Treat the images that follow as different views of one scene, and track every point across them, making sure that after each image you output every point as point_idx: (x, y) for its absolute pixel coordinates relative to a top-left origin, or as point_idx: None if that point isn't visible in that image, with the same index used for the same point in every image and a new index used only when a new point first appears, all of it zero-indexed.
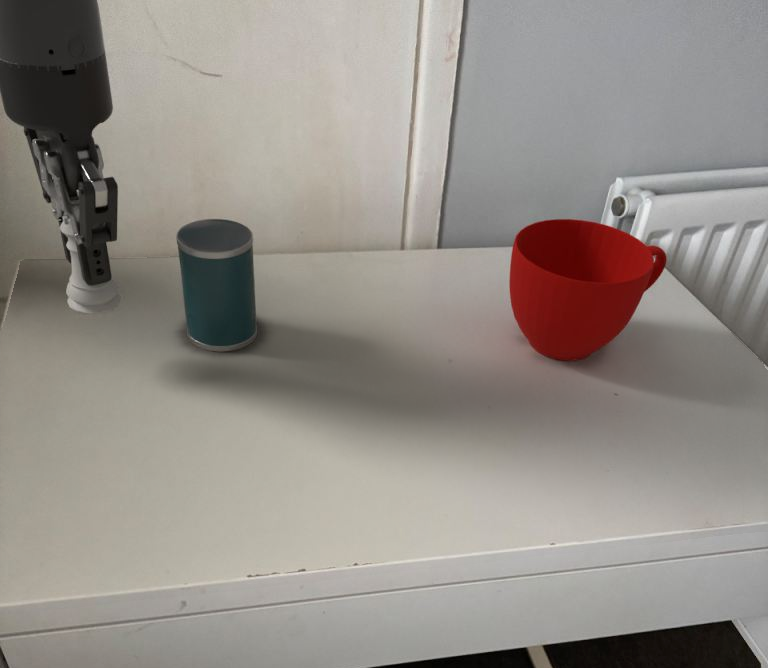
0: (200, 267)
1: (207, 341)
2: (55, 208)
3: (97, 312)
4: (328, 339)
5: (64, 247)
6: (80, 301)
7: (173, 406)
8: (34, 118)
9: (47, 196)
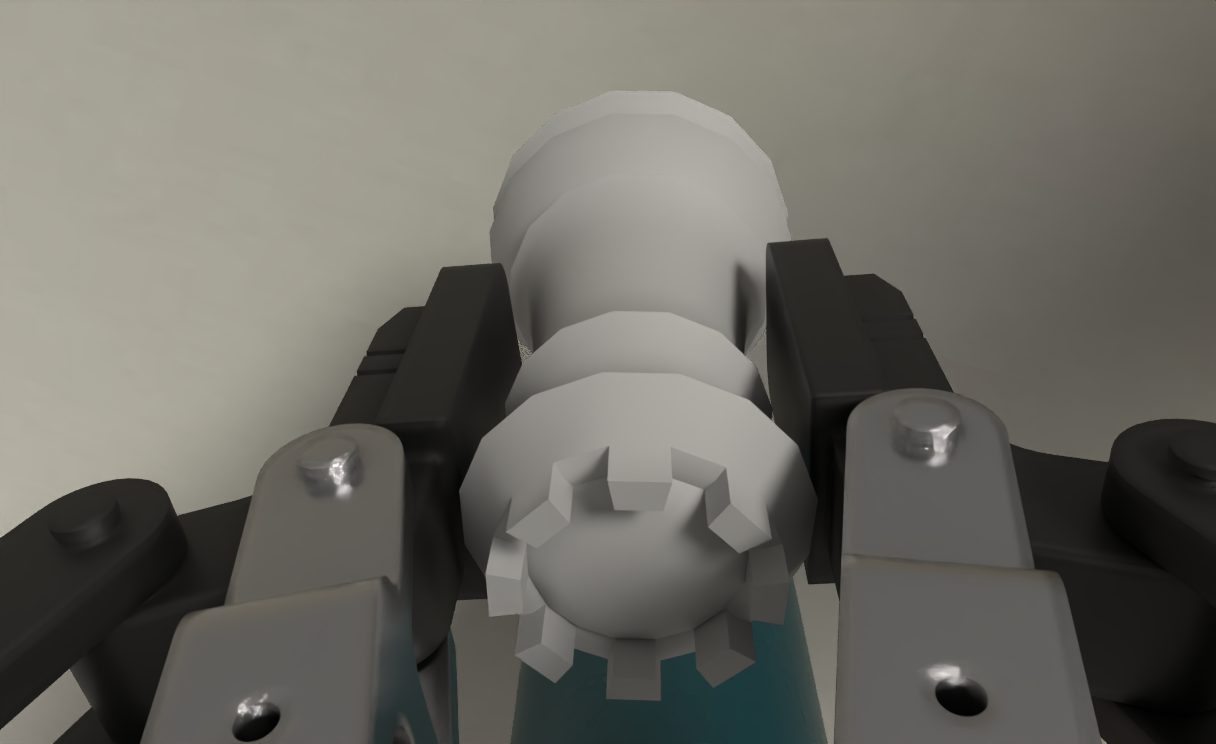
0: (545, 739)
1: None
2: (881, 469)
3: (495, 214)
4: (496, 741)
5: (823, 280)
6: (526, 165)
7: (264, 256)
8: None
9: (1144, 480)
